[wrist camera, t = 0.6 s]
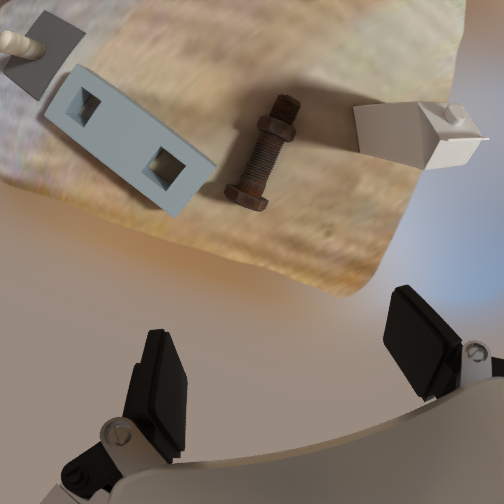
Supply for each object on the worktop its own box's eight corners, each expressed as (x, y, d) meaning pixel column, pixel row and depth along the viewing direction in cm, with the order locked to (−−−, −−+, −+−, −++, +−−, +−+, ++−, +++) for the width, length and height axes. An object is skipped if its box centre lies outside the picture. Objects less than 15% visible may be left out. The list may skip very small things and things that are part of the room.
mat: (45, 10, 21) (44, 10, 20) (86, 33, 25) (84, 32, 24) (4, 72, 23) (2, 71, 23) (39, 100, 28) (37, 100, 27)
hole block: (57, 115, 29) (43, 115, 26) (89, 68, 28) (76, 63, 24) (179, 209, 38) (175, 218, 34) (216, 164, 36) (216, 168, 32)
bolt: (288, 104, 35) (245, 199, 40) (262, 88, 32) (217, 191, 36) (318, 110, 31) (271, 215, 36) (293, 91, 28) (241, 208, 33)
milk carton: (397, 148, 37) (490, 172, 20) (359, 153, 37) (449, 179, 20) (391, 104, 34) (486, 104, 17) (351, 106, 34) (443, 100, 17)
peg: (40, 40, 23) (3, 28, 14) (49, 46, 24) (12, 33, 15) (29, 56, 24) (-9, 48, 15) (38, 63, 25) (-1, 54, 16)
